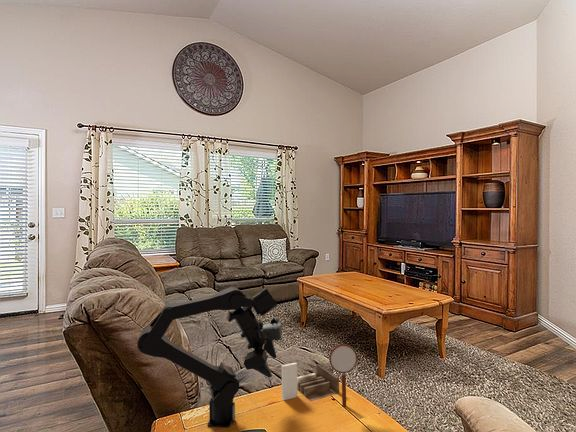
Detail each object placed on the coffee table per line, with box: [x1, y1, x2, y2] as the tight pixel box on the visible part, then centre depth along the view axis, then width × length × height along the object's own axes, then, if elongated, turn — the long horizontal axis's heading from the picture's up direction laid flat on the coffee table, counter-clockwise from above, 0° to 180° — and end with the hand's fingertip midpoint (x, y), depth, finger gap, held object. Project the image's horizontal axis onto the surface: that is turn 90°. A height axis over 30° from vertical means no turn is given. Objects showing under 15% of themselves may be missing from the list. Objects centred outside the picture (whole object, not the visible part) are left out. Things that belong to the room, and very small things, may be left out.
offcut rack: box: [297, 363, 340, 402], centre depth 115 cm, size 11×13×6 cm
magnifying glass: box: [329, 343, 358, 408], centre depth 104 cm, size 9×2×20 cm, turn 94°
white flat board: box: [280, 362, 298, 401], centre depth 110 cm, size 5×1×12 cm, turn 116°
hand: (273, 366), depth 105 cm, fingers open, 9 cm apart
